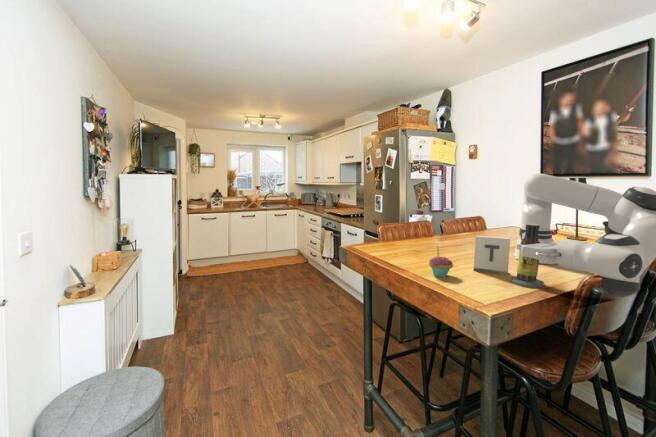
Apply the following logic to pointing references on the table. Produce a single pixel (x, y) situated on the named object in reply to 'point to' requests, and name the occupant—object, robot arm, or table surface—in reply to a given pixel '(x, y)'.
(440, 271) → the cupcake
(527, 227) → the sauce bottle
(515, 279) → the slate mat
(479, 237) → the letter plaque
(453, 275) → the table surface
